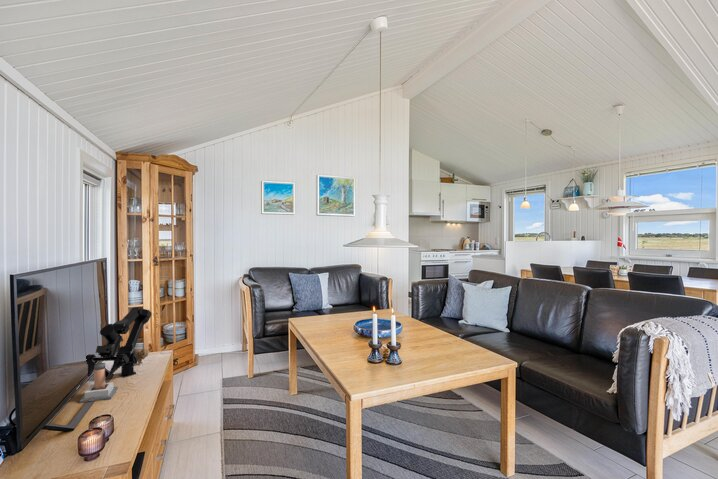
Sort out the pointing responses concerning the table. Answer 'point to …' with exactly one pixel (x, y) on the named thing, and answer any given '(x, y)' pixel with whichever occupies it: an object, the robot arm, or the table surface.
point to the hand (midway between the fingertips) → (98, 376)
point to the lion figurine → (142, 355)
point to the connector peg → (99, 376)
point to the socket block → (100, 393)
